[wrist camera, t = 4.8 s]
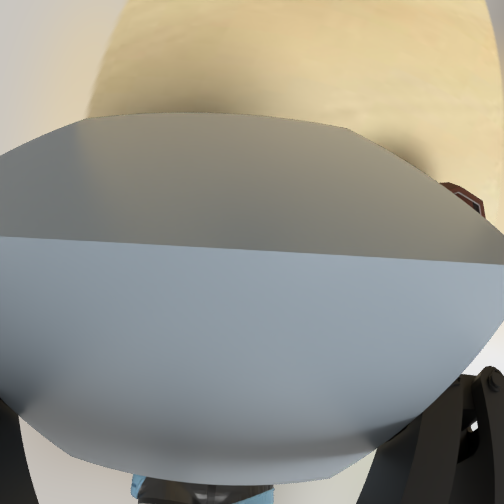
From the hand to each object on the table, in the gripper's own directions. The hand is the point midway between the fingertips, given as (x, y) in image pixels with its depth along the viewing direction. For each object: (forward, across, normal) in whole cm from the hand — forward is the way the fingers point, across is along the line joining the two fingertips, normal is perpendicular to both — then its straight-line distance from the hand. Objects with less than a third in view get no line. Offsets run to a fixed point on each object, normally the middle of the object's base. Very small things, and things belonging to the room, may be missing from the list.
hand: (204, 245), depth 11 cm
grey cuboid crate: (+1, 0, 0) cm, 1 cm away
